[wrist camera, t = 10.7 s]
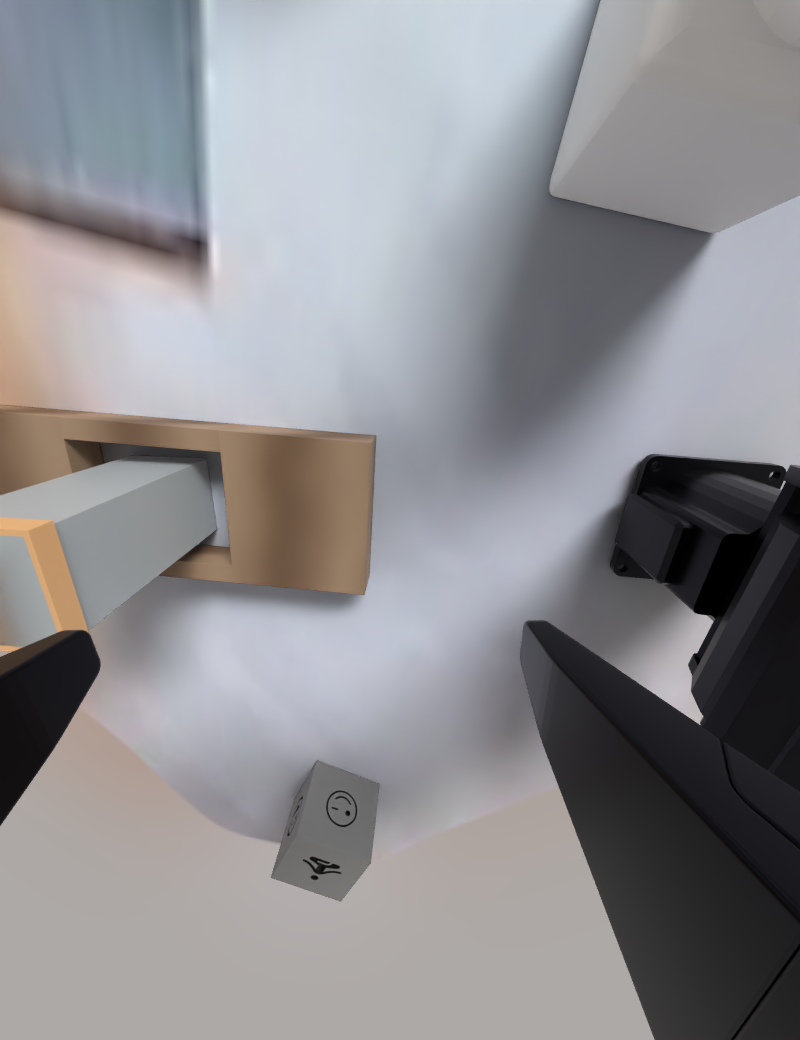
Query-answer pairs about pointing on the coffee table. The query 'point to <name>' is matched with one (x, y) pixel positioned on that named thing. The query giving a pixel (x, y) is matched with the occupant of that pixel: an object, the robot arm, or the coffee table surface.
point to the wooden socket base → (229, 490)
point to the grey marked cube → (328, 832)
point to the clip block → (95, 541)
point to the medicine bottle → (686, 112)
